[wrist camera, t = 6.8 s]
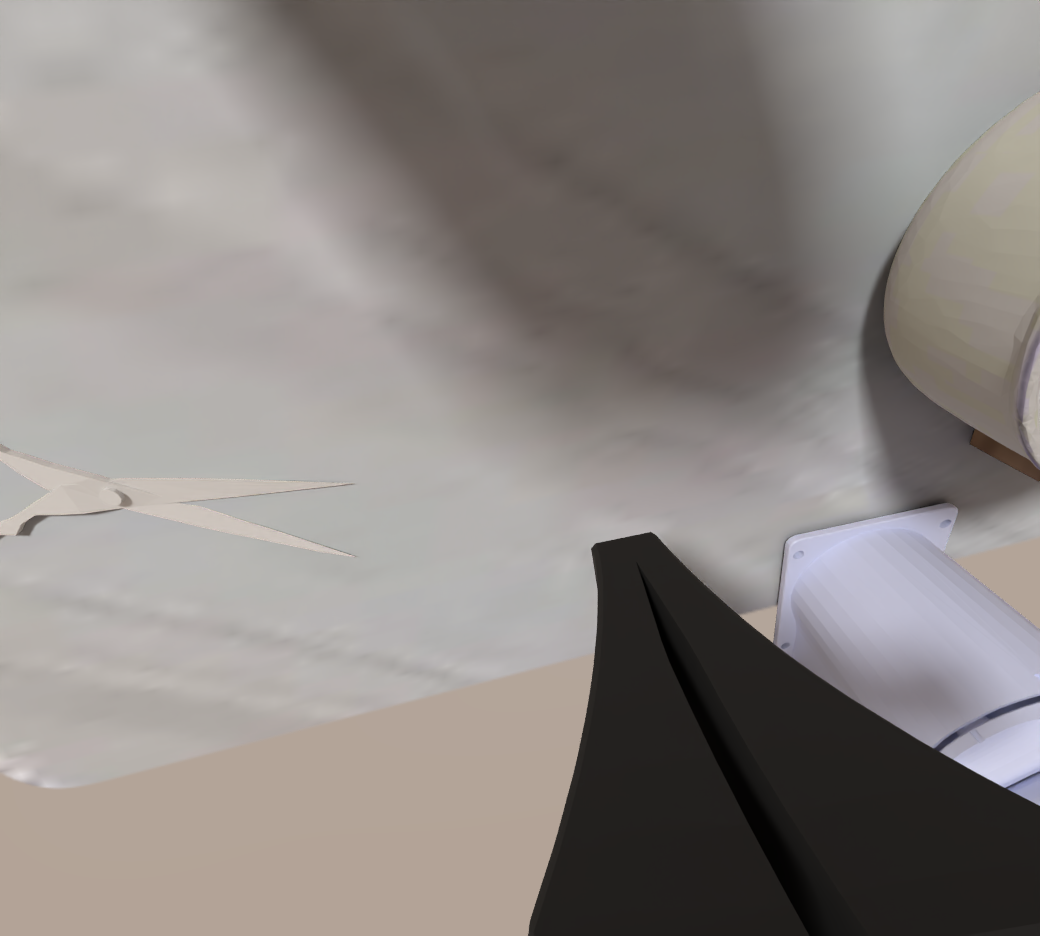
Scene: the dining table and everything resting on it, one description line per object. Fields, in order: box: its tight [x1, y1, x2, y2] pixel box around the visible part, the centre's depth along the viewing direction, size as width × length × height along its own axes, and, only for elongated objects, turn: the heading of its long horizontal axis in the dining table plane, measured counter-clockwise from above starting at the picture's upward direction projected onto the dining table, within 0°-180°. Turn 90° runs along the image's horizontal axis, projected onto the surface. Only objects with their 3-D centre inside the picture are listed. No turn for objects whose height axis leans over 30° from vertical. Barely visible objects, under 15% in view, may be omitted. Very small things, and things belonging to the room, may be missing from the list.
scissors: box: [0, 444, 355, 557], centre depth 19 cm, size 11×1×20 cm
